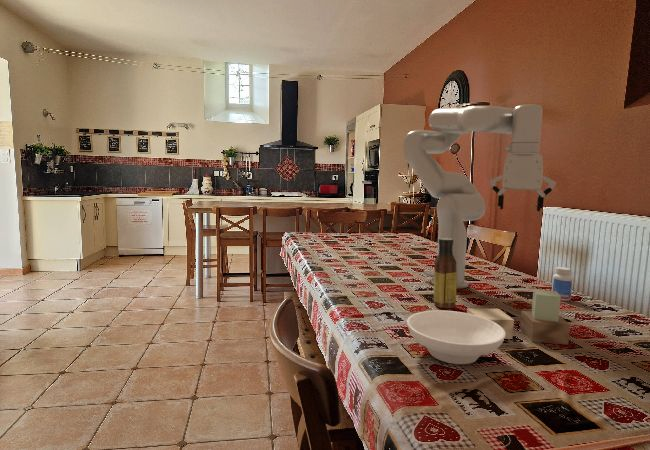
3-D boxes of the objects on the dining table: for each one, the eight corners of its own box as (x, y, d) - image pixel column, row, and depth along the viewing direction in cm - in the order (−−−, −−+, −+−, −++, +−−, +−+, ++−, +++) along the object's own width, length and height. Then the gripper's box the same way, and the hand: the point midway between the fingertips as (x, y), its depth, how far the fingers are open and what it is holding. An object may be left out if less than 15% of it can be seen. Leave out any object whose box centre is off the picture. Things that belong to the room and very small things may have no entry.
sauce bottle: (455, 304, 122) (460, 237, 120) (455, 310, 116) (459, 241, 114) (433, 301, 124) (436, 236, 122) (431, 307, 118) (435, 239, 116)
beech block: (478, 340, 96) (479, 319, 96) (466, 327, 104) (467, 308, 104) (512, 340, 97) (513, 319, 96) (497, 327, 105) (498, 308, 104)
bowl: (446, 388, 74) (448, 351, 73) (387, 345, 92) (389, 315, 91) (525, 369, 82) (528, 336, 81) (457, 333, 99) (459, 306, 99)
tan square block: (531, 342, 96) (533, 322, 95) (519, 330, 103) (521, 310, 103) (568, 345, 95) (570, 324, 94) (553, 332, 102) (555, 312, 102)
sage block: (534, 319, 97) (536, 294, 96) (531, 312, 102) (533, 288, 101) (558, 322, 95) (560, 296, 95) (554, 315, 100) (556, 291, 99)
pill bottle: (573, 301, 127) (576, 270, 126) (554, 300, 128) (557, 269, 127) (566, 296, 133) (569, 267, 132) (548, 295, 134) (551, 265, 133)
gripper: (491, 149, 117) (486, 209, 119) (560, 149, 110) (554, 212, 112) (492, 150, 124) (488, 207, 126) (558, 150, 117) (552, 210, 119)
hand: (519, 210), depth 119 cm, fingers open, 9 cm apart
